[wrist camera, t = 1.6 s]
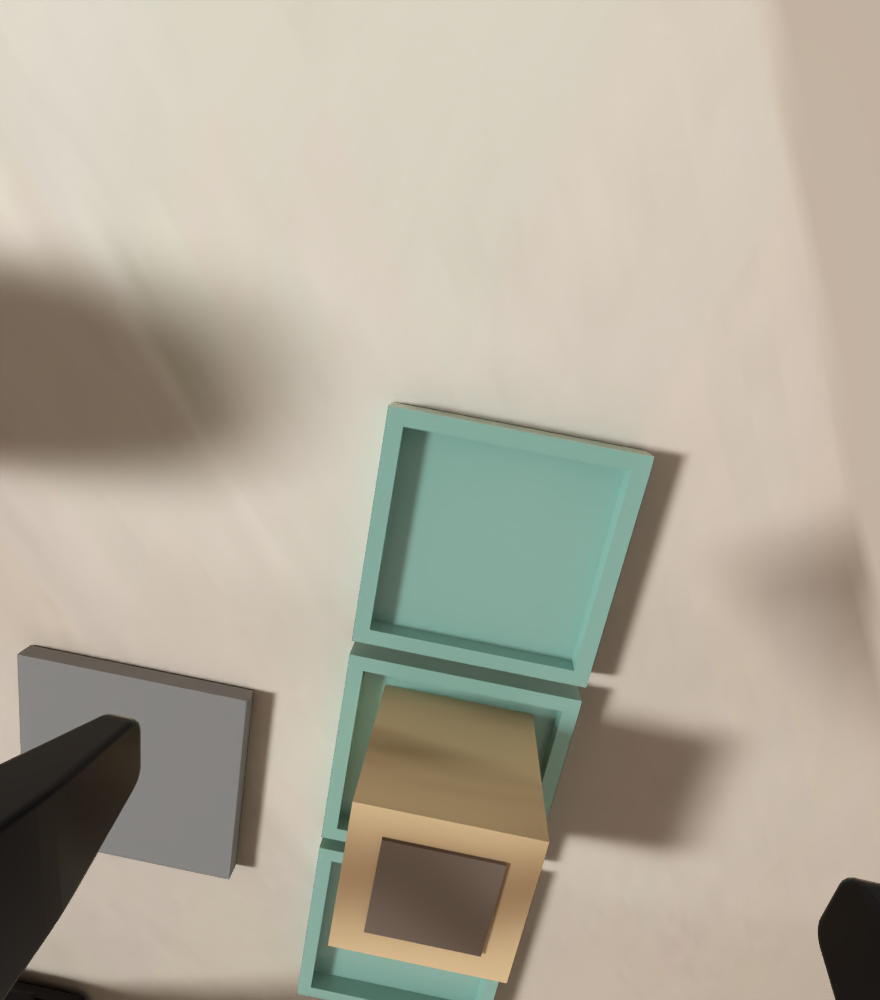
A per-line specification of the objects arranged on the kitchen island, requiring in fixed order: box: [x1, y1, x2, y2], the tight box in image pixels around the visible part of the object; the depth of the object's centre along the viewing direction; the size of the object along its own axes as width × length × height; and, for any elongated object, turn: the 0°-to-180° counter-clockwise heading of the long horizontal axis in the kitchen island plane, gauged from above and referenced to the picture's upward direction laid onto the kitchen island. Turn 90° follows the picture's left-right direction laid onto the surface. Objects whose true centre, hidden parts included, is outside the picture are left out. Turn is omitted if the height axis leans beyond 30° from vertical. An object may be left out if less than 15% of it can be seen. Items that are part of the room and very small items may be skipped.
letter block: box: [328, 685, 549, 983], centre depth 17 cm, size 5×5×5 cm
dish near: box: [352, 402, 655, 688], centre depth 17 cm, size 8×8×1 cm
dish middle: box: [321, 641, 582, 842], centre depth 20 cm, size 8×8×1 cm
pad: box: [17, 645, 253, 879], centre depth 21 cm, size 8×8×1 cm
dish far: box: [297, 837, 499, 1000], centre depth 22 cm, size 8×8×1 cm
